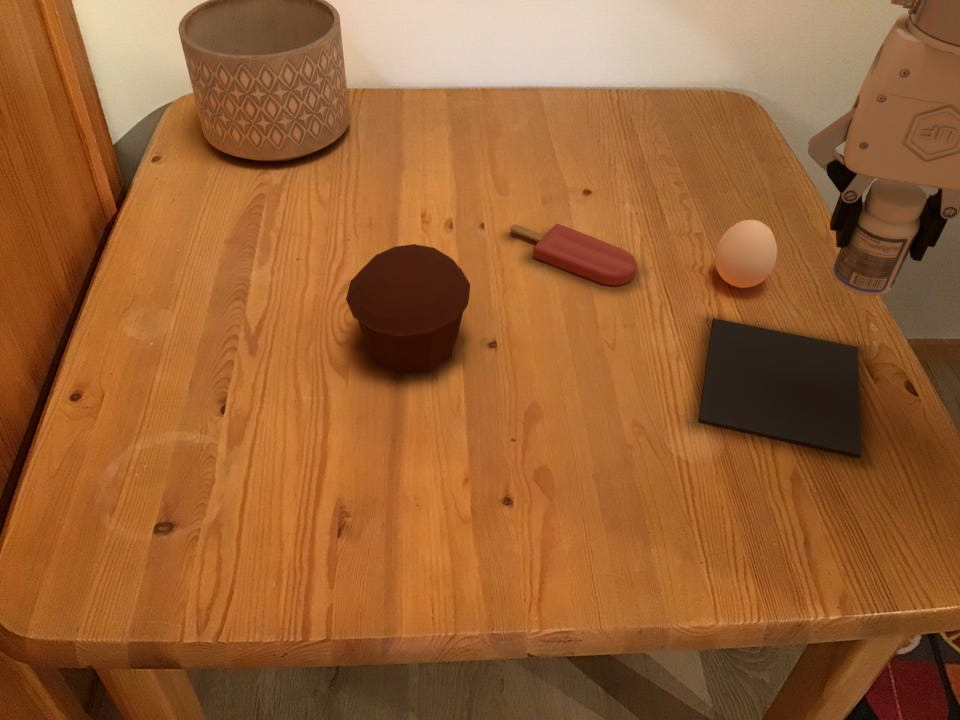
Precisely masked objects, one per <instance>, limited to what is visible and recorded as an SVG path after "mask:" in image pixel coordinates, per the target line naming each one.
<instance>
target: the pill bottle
mask: <svg viewBox="0 0 960 720" xmlns="http://www.w3.org/2000/svg"><path fill="white" fill-rule="evenodd" d="M866 193H867V194H866V195H865V199H864V201H862V205H863V207H862V211H861V214H860V216H859V218H858V221H857V223H856V226H855V228H854V231H853V233H852V236H851V238H850V241H849V243H848V245H847V247H844V248H839V252H838V253H837V257H836V259H835V261H834V263H833V266H832V276H833V279H834V280H835V281H836V283H837V284H838V285H839V286H841V288H843V289H845V290H846V291H848V292H850V293H852V294H855V295H858V296H863V297H877V296H878V297H879V296H882V295H885V294H886V293H888V292H889V291H890V290H891V289H892V288H893V286H894V285H895V283H896V280H897V279H898V276H899V274H900V272H901V270H902V268H903V266H904V263H905V261H906V260H907V257H908V254H910V249H911V246H912V244H913V242H914V240H915V238H916V236H917V234H918V232H919V229H920V218H919V216H920V214H921V212H922V210H923V208H924V206H925V204H926V200H927V198H928V197H927V194H926V192H925V191H924V190H923V188H922V187H921V186H920V185H914V184H908V183H902V182H895V181H889V180H883V179H876V180H874V181H872V182H871V185H870V186H869V189H868V191H867V192H866Z"/></svg>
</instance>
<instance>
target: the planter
mask: <svg viewBox="0 0 960 720" xmlns="http://www.w3.org/2000/svg"><path fill="white" fill-rule="evenodd" d="M340 17H341V16H340V14H339V12H338V10H337V9H336V8H335V7H334V5H333V4H331V3H330V2H328V1H327V0H206V1H204V2H202V3H199V4H198V5H196V6H195V7H193V8H192V9H190V10H189V11H187V12H186V13H185V15H183V17H182V18H181V20H180V22H179V24H178V27H177V29H178V36H179V39H180V43H181V46H182V51H183V56H184V60H185V64H186V68H187V73H188V76H189V80H190V85H191V89H192V93H193V97H194V101H195V105H196V110H197V113H198V117H199V121H200V126H201V131H202V134H203V136H204V138H205V139H206V141H207V142H208V143H209V144H210V145H211V146H212V147H214V148H215V149H217V150H218V151H221V152H223V153H224V154H227V155H230V156H233V157H236V158H242V159H246V160H251V161H254V162H255V161H258V162H269V163H270V162H271V163H272V162H273V163H274V162H286V161H291V160H292V161H293V160H297V159H300V158H303V157H307V156H310V155H312V154H314V153H316V152H318V151H319V150H322V149H324V148H326V147H328V146H330V145H331V144H333V143H334V142H335V141H337V140H338V139H339V138H340V137H342V135H343V134H344V133H345V132H346V130H347V128H348V127H349V124H350V120H351V115H350V107H349V106H350V105H349V95H348V87H347V74H346V66H345V65H346V64H345V56H344V48H343V47H344V46H343V36H342V26H341V18H340Z"/></svg>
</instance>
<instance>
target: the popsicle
mask: <svg viewBox="0 0 960 720" xmlns="http://www.w3.org/2000/svg"><path fill="white" fill-rule="evenodd" d="M509 230H510V231H511V232H512V233H515V234H517V235H520V236H521V237H524V238H527V239H530V240H532V241H535V242H537V243H536V244H535V245H534V247H533V251H532V257H533V258H534V259H537V260H538V261H542V262H544V263H546V264H549V265H552V266H554V267H557V268H559V269H562V270H564V271H567V272H569V273H572V274H575V275H578V276H580V277H582V278H583V277H584V278H586V279H588V280H591V281H594V282H595V283H596V282H597V283H599V284H602V285H605V286H606V285H607V286H613V287H616V286H622V285H625V284H627V283H629V282H631V281H632V280H633V278H634V277H635V274H636V269H637V261H636V259H635V257H634V255H633V254H632V253H630V252H628V251H627V250H625V249H624V248H621V247H619V246H616V245H614V244H611V243H609V242H606V241H604V240H601V239H599V238H596V237H593V236H591V235H588V234H586V233H584V232H581V231H578V230H576V229H573V228H571V227H568V226H565V225H562V224H560V223H555V224H554V225H553V226H552V227H551V228H550V229H549V231H547V233H546V234H543V233H540V232H538V231H534V230H532V229H529V228H527V227H524V226H521V225H519V224H512V225H511V226H510V228H509Z"/></svg>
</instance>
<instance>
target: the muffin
mask: <svg viewBox="0 0 960 720" xmlns="http://www.w3.org/2000/svg"><path fill="white" fill-rule="evenodd" d="M347 289H348V290H347V293H346V297H345V301H346V303H347V305H348V308H349V310H350V312H351V314H352V317H353V318H354V319H356V320H357V323H358V326H359V328H360V331H361V335H362V337H363V341H364V343H365V346H366V348H367V349H368V351H369V352H370V354H371V355H372V358H373V361H374V362H375V365H377V366H379V367H382V368H384V369H385V368H386V369H387V370H391V371H392V372H395V373H397V374H398V375H399V376H403V375H409V374H416V373H417V374H418V373H420V374H421V373H423V374H424V373H432V372H433V371H434V370H435V369H437V368H438V367H439V366H441V365H442V364H444V363H446V362H448V361H450V360H452V359H453V354H454V350H455V345H456V343H457V341H458V337H459V334H460V328H461V324H462V320H463V319H462V318H463V315H464V311H465V310H466V309H467V307H468V305H469V302H470V301H469V300H470V292H471V283H470V281H469V280H468V278H467V276H466V274H465V273H464V271H463V270H462V268H461V267H459V265H458V264H457V262H456V261H455V260H454V259H453V258H452V257H450V255H447V254H445V253H444V252H442V251H441V250H439V249H437V248H436V247H434V246H433V247H432V246H426V245H421V244H416V243H415V244H406V245H405V244H404V245H397V246H393V247H391V248H389V249H386V250H384V251H381V252H380V253H377V254H375V255H374V256H373V257H372V258H371V259H370V260H369V261H368V262H367V263H366V264H365V265H364V266H363V267H362V268H361V269H360V270H359V271H358V273H356V275H355V276H354V277H353V278H352V279H351V280H350V281H349V287H348V288H347Z"/></svg>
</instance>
